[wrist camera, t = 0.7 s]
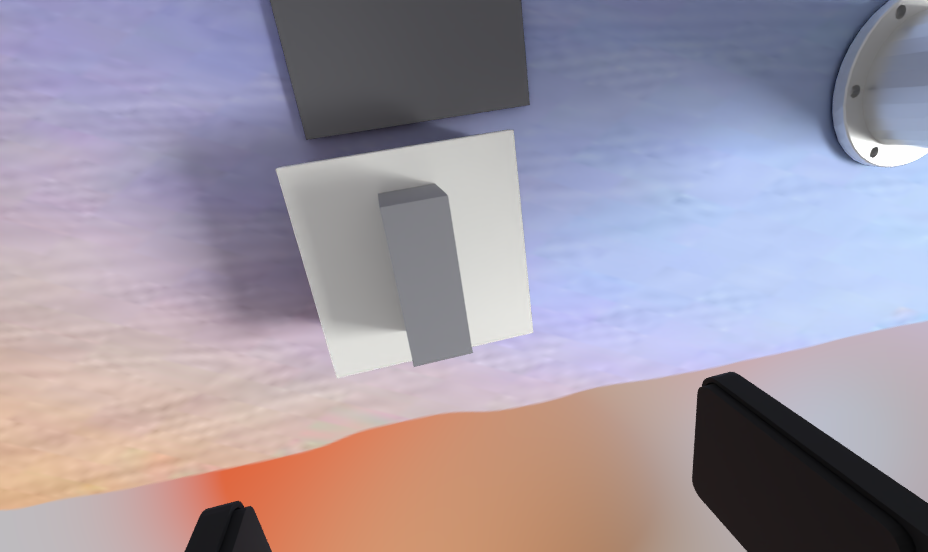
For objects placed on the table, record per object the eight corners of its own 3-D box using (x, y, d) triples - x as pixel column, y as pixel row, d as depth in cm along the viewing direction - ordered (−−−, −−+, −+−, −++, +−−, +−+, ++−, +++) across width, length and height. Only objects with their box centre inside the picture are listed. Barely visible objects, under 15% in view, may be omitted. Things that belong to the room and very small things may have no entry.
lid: (507, 129, 24) (541, 131, 19) (527, 325, 28) (559, 366, 23) (279, 166, 22) (255, 179, 17) (337, 369, 26) (331, 422, 22)
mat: (508, -127, 24) (510, -131, 24) (527, 105, 28) (529, 104, 28) (243, -107, 22) (240, -111, 22) (307, 139, 26) (306, 139, 26)
